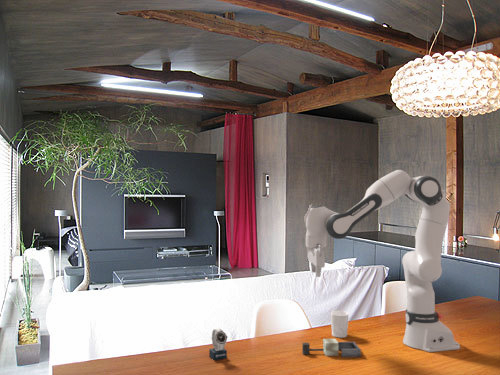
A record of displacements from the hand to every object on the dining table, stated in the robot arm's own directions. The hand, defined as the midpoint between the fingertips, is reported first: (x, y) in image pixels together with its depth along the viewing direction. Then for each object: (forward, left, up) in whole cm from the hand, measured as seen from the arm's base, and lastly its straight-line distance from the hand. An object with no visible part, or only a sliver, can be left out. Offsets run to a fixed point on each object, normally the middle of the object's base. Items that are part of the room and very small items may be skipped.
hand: (315, 274), depth 189 cm
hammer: (+1, +15, -29) cm, 32 cm away
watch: (+42, +18, -29) cm, 54 cm away
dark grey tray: (-10, +15, -29) cm, 34 cm away
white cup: (-12, -6, -29) cm, 32 cm away
